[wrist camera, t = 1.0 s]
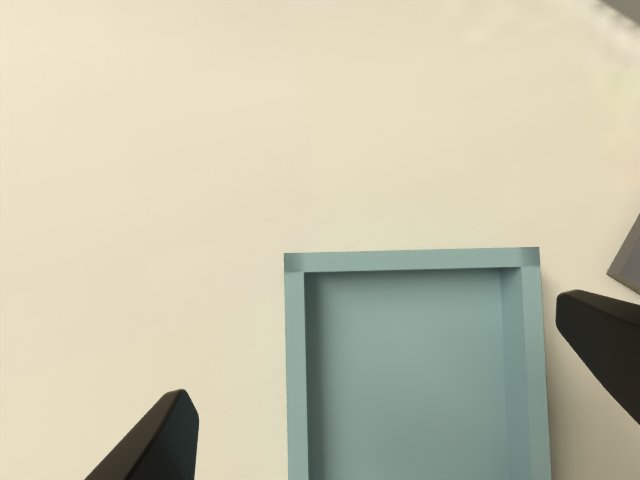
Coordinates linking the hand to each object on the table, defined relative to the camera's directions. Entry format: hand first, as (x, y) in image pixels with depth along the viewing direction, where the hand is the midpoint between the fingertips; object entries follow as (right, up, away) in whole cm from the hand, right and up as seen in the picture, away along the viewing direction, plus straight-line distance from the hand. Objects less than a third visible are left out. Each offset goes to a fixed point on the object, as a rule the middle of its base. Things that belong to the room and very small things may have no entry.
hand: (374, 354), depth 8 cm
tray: (+5, -7, +16) cm, 18 cm away
